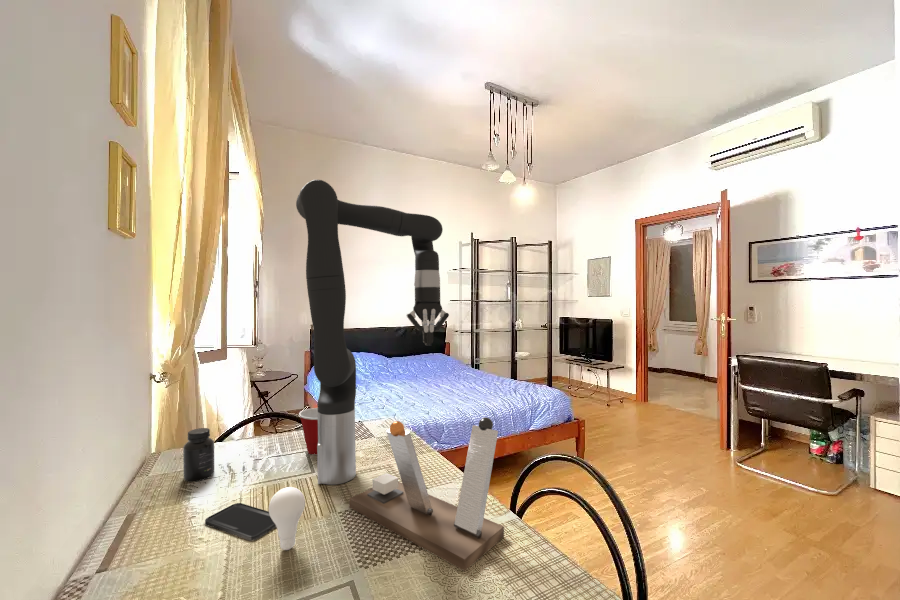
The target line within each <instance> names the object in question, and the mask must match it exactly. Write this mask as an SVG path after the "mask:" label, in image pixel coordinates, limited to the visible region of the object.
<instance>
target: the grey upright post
mask: <svg viewBox="0 0 900 600" xmlns="http://www.w3.org/2000/svg"><path fill="white" fill-rule="evenodd" d="M493 428H494V422H493V420H492V419H491V418H489V417H488V416H487V417H482V418H481V419H480V420H479V422H478V425H474V424H473V425H472V427H471V432H470V433H471V434H470V437H469V438H470V439H469V443H468V449H467V455H466V458H465V459H466V460H465V466H464V471H463V475H462V476H463V477H462V482H461V487H460V493H459V497H458V502H457V504H458V505H457V507H458V508H457V513H456V519H455V522H454V527H456V528H458V529H460V530H462V531H465V532H467V533H469V534H471V535H473V536H475V537H477V538H480V537H481V535H482V525H483V519H484V518H485V511H486V506H487V501H488V500H487V499H488V495H489V489H490V482H491V475H492V470H493V463H494V457H495V452H496V445H497V442H498V441H497V439H498V433H499V430H495V429H493Z"/></svg>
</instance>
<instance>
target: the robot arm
mask: <svg viewBox="0 0 900 600" xmlns="http://www.w3.org/2000/svg"><path fill="white" fill-rule="evenodd" d="M295 201H296V202H295V205H296V210H297V212H298V214H299V216H301V218H303V219H304V220H305V223H306V224H305V225H306V230H307V249H306V251H307V252H306V260H305V261H306V262H305V279H306V286H307V287H306V288H307V289H306V290H307V297H308V302H309V310H310V311H309V312H310V319H311V323H312V328H313V371H314V375H315V377H316V379H317V380H318V381H319V383H320V385H319V387H320V389H319V395H318V399H317V408H318V445H317V454H316V455H317V462H316V463H317V484H318V485H321V484H323V485H330V486H331V485H332V486H333V485H340V484H344V483H347V482H349V481H352V480H353V479H354V478H355V477H356V476H357V475H356V474H357V465H356V464H357V461H356V459H357V458H356V457H357V455H356V409H355V408H356V404H355V403H356V394H357V365H356V364H357V363H356V358H355V355H354V354H353V352H352V351H351V350H350V349H348V348H347V344H346V338H345V327H344V325H345V314H346V301H347V295H346V294H347V290H346V282H345V281H346V279H345V273H344V272H345V271H344V266H343V258H342V252H341V246H340V240H339V225H342V226H343V225H344V226H349V227H356V228H361V229H366V230H371V231H373V232H374V231H376V232H379V233H383V234H387V235H391V236H396V237H406V236H407V237H411V243H412V248H413V253H414V257H415V259H414V267H415V268H414V269H415V273H414V284H413V285H414V306H413V307H412V311H410V312H409V313H406V318H408V320H409V321H410V322H411V324H412V325H413V326H414V327H415V329H416V330H417V331H420V332H422V342H423V343H424V345H425V346H432V344H433V343H434V332H435V331H438V330H440V329H441V327H442V326H443V324H444V323H445V322H446V321H447V319H448V318H449V316H450V314H449V313H448V312H447V311H444V310H443V307H442V305H441V277H440V259H439V258H440V257H439V254H438V252H437V251H436V250H435V249H434V244H433V242H435V241H437V240H439V238H440V237H441V236H442V235H443V225H442V222H441V221H439V220H438V218H436V217H433V216H431V215H427V214H421V213H420V214H419V213H410V212H405V211H402V210H398V209H394V208H389V207H385V206H379V205H368V204H357V203H356V204H355V203H351V202H346V201H343V200H339V199H338V196H337V193H336V191H335V189H334V188H333V186H331V184H330V183H328V182H326V180H325V181H324V180H322V179H312V180H310V181H309V182H307V183H306V184H305V185H303V187H302V188H301V189H300V191H299V194H298V196H297V198H296V200H295ZM416 316H417V318H418V319H419V320H420V321H421V324H420V323H419V322H418V321H417V319H416ZM438 316H439V317H440V318H439V319H438ZM436 319H438V320H437V322H436V323H435V320H436Z"/></svg>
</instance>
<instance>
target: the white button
mask: <svg viewBox="0 0 900 600" xmlns="http://www.w3.org/2000/svg"><path fill="white" fill-rule="evenodd" d="M371 482H372V484H371V486H372V487H373V490H375V491H378V492H380V493H382V494H384V495H385V494H388V493H390V492H391V491H393V490H395V489H397V488H398V482H399V477H397V476H395V475H392V474H390V473H387V472H385V473H384V474H383V473H382V474H380V475H378V476H377V477H375V478H374V477H373V478H372V480H371ZM372 487H371V488H372Z"/></svg>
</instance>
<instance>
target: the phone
mask: <svg viewBox="0 0 900 600" xmlns="http://www.w3.org/2000/svg"><path fill="white" fill-rule="evenodd" d="M204 524H205V525H206V526H207V527H211V528H214V529H217V530H218V531H221V532H224V533H227V534H230V535H232V536H236V537H238V538H241V539H243V538H244V540H245V541H249V542H252V541H257V540H258V539H260V538H262V537H263V536H265V535H267V534H268V533H269V532H271V531H272V530H274V529H275V528H276V529H277V527H276V525H275V523H274V522H273V520H272V519H271V517H270V514H269V510H265V509H261V508H258V507H256V506H255V507H254V506H252V505H248V504H245V503H241V502H237V503H233V504H232V505H230V506H227V507H225V508H223V509H222V510H219V511H217V512H216V513H213V514H212V515H209V516H207V517H206V518H205V519H204Z"/></svg>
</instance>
